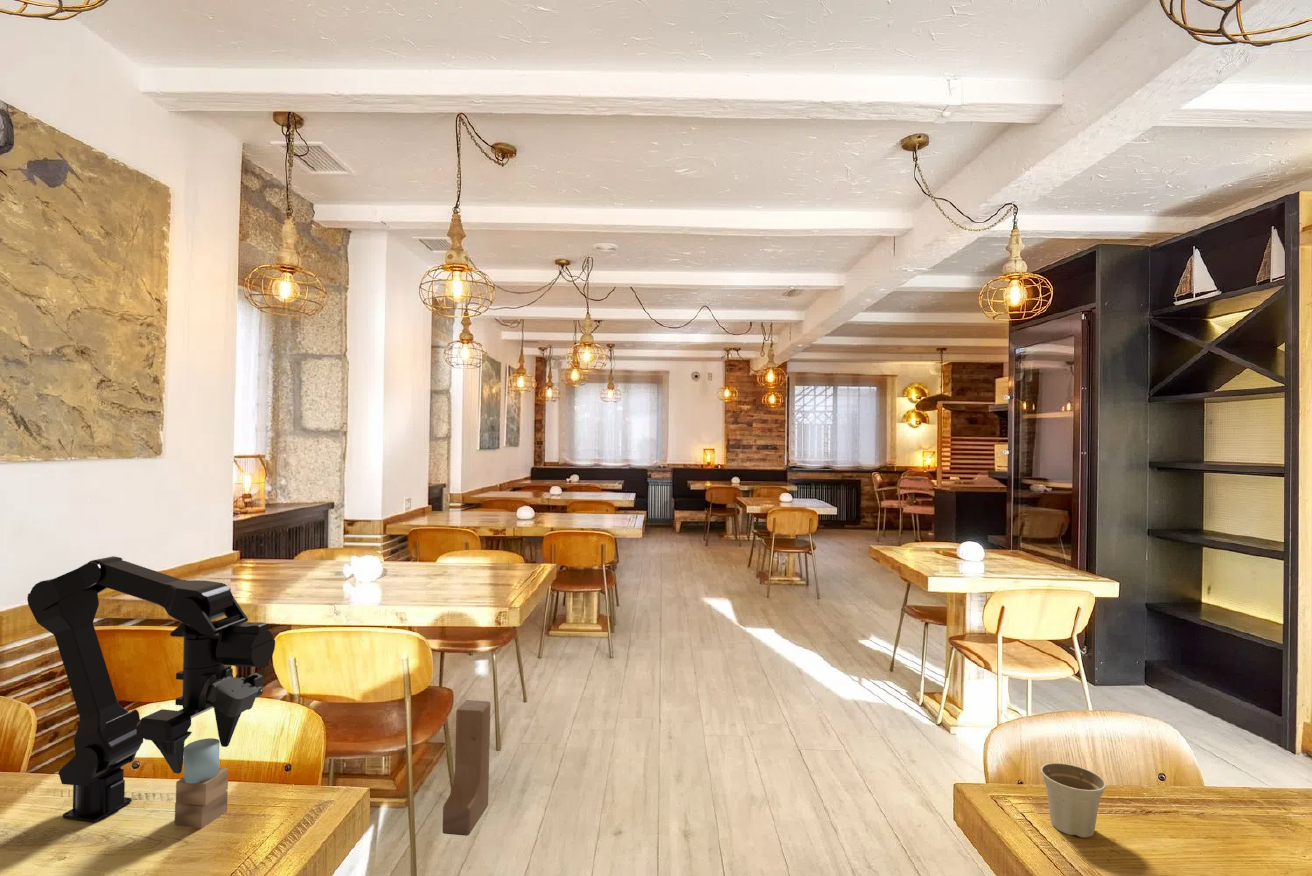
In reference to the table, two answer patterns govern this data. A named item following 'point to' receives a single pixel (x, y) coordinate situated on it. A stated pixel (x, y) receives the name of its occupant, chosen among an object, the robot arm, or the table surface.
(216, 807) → the lower block
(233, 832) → the table surface
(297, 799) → the table surface
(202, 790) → the upper block
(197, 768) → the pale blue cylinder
